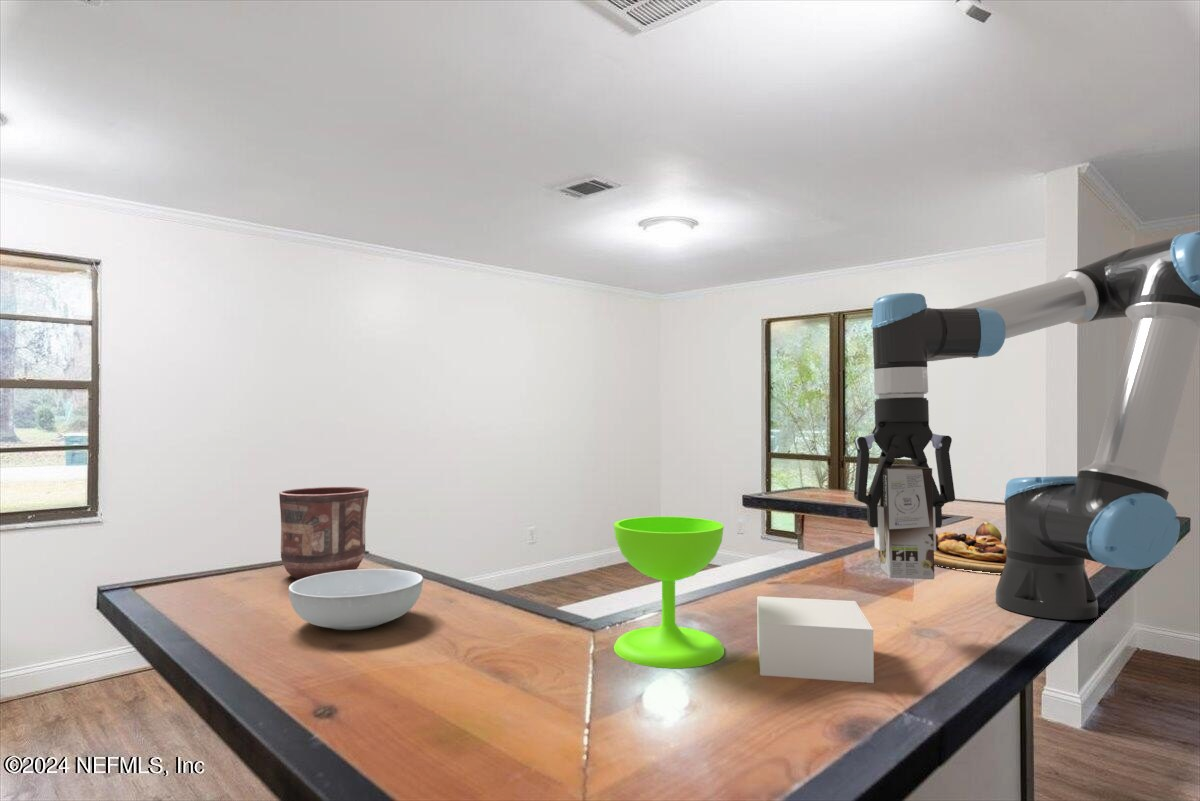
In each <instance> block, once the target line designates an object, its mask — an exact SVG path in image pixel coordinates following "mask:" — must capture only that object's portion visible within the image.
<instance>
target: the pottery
mask: <svg viewBox="0 0 1200 801" xmlns="http://www.w3.org/2000/svg"><path fill="white" fill-rule="evenodd" d="M369 491H370V490H369V488H365V487H360V486H359V487H358V486H355V487H354V486H317V487H303V488H295V489H293V488H292V489H287V490H283V491H281V492H280V491H279V497H278V498H279V508H280V510H279V511H280V558H281V562H282V564H283V567H284V569H285V570H286V573H288V574H289V575H290V576H291V577H292V578H294V580H296V581H297V580H300V579H303V578H306V577H309V576H313V575H318V574H323V573H330V572H336V571H345V570H357V569H358V568H359V567H360V565H361V563H362V561H363V559H364V557H365V552H366V518H367V516H366V515H367V506H368V499H369Z"/></svg>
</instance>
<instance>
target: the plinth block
mask: <svg viewBox="0 0 1200 801" xmlns="http://www.w3.org/2000/svg"><path fill="white" fill-rule="evenodd" d="M756 600H757V604H756V605H757V607H756V614H757V616H756V617H757V622H756V623H757V650H758V651H757V652H758V662H759V663H758V664H759V676H768V677H779V678H780V677H781V678H796V679H809V680H810V679H811V680H821V681H822V680H823V681H825V680H826V681H838V682H839V681H840V682H853V683H865V682H866V683H867V684H874V682H875V681H874V680H875V678H874V677H875V676H874V675H875V674H874V673H875V671H874V669H875V668H874V667H875V666H874V664H875V663H874V657H875V656H874V629H873V627H872V626H871V624H870V621H869V620H868V619H867V617H866V616H865V614H864V612H863V611H862V609H861V608H860V606H859V605H858V603H857V602H856V601H855V600H841V599H823V598H799V597H779V596H778V597H777V596H762V595H761V596H759V595H758V596H757V597H756Z"/></svg>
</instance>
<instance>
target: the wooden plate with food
mask: <svg viewBox="0 0 1200 801" xmlns="http://www.w3.org/2000/svg"><path fill="white" fill-rule="evenodd" d="M1002 537H1003V536H1002V533H1001V531H1000V530H999V529H998V528H997V527H996V526H995V525H994V524H992V523H990V522H989V521H984V522H982V523H981V524H980V525H979V526H978V527H977V528H976V530H975V534H974V536H973V535H972V534H966V533H959V534H958V533H956V532H951V531H949V532H948V531H947V532H943V533H939V534H937V533H936V551H934V565H939V566H943V567H949V568H955V569H964V570H972V571H982V572H990V573H1001V574H1002V572H1003V569H1004V566H1005V563H1006V535H1005V537H1004V540H1003V541H1004V542H1002Z"/></svg>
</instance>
